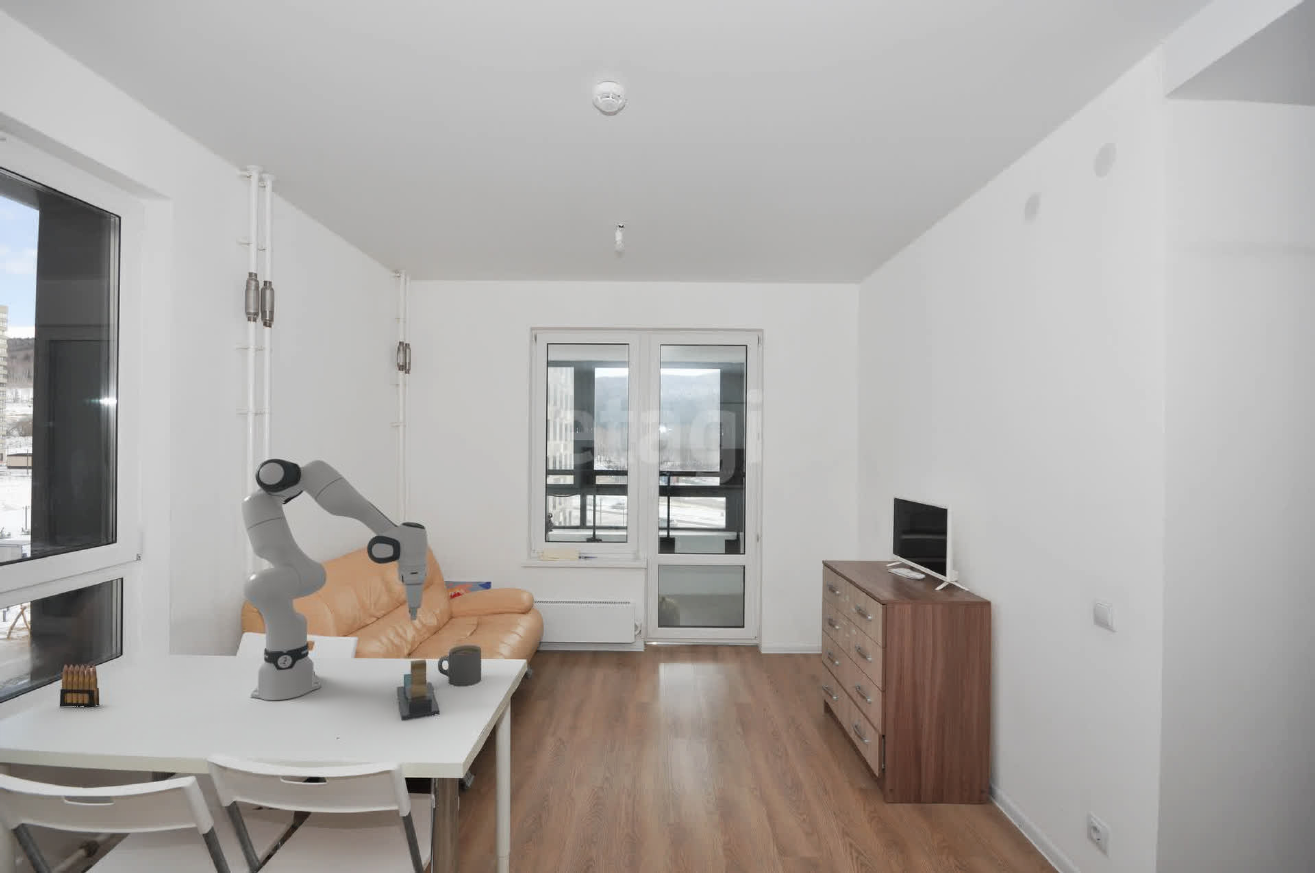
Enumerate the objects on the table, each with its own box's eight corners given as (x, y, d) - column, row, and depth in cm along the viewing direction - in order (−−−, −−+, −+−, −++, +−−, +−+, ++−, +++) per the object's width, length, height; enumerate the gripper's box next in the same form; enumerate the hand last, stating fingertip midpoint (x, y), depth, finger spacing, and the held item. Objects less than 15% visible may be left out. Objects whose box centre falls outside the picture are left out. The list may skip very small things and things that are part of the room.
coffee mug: (485, 675, 218) (485, 645, 218) (474, 687, 208) (474, 655, 208) (446, 674, 219) (446, 644, 219) (433, 685, 209) (433, 653, 209)
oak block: (410, 702, 192) (410, 661, 192) (425, 700, 194) (425, 659, 194) (411, 706, 189) (411, 664, 189) (426, 704, 191) (426, 662, 191)
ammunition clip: (59, 706, 192) (59, 665, 193) (65, 704, 194) (65, 663, 194) (93, 707, 192) (94, 666, 192) (99, 705, 194) (99, 664, 194)
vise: (396, 690, 205) (396, 677, 205) (430, 685, 209) (430, 672, 209) (401, 720, 183) (401, 705, 183) (439, 714, 187) (439, 699, 187)
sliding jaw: (403, 684, 206) (403, 674, 206) (424, 681, 209) (424, 671, 209) (406, 697, 195) (406, 687, 195) (427, 694, 198) (427, 684, 198)
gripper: (400, 568, 220) (400, 609, 220) (403, 580, 202) (403, 625, 201) (420, 566, 223) (420, 607, 223) (425, 578, 204) (425, 623, 204)
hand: (412, 616), depth 212 cm, fingers open, 7 cm apart
